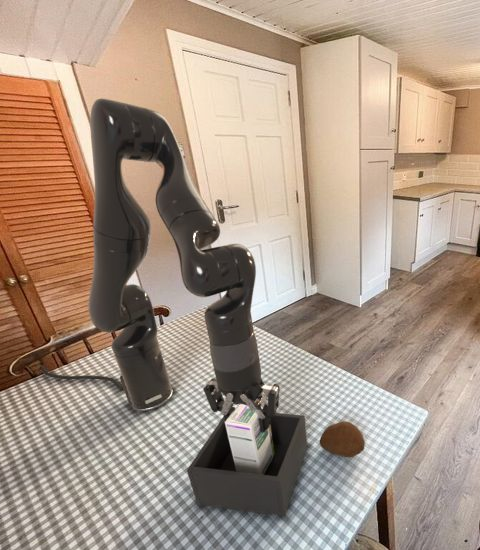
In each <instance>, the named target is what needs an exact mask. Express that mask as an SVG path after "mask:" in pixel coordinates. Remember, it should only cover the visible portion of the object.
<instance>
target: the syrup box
mask: <svg viewBox="0 0 480 550" xmlns="http://www.w3.org/2000/svg"><path fill="white" fill-rule="evenodd" d="M255 402H256V401H255ZM261 408H262V406H261ZM262 409H263V408H262ZM225 425H226V430H227V434H228V438H229V442H230V447H231V451H232V455H233V459H234V463H235V468H236V472H243V473H252V474H260V475H264V473H265V471H266V470H267V468H268V466H269V464H270V462H271V461H272V459H273V457H274V455H275V451H274V445H273V439H272V433H271V426H270V425H269V427H268V430H266V431H265V432H261V430H260V424H259V416H258V415H257V414H256V412H255V411H254V412H252V411H251V409H250V408H249V407H248V405H244V404H237V406H236V407H235V410H234V411H233V412H232V413H231V415H230V416H229V417H228V419H227V420H226V421H225Z"/></svg>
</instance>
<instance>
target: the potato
mask: <svg viewBox="0 0 480 550" xmlns="http://www.w3.org/2000/svg"><path fill="white" fill-rule="evenodd" d="M365 443H366V442H365V439H364V435H363V433H362V432H361V431H360V429H359V428H358V426H356V425H355V424H353V422H350V421H347V420H344V421H338V422H336V423H333V424H330V425H328V426H327V427H326V428H325V429H324V431H322V434H321V436H320V439H319V445H320V448H322V449H323V450H325V451H326V452H328V453H330V454H332V455H335V456H340V457H343V458H347V459H351V458H354V457H356V456H358V455H360V454H361V453H362V452H364V450H365V447H366V446H365V445H366V444H365Z"/></svg>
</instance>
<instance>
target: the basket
mask: <svg viewBox="0 0 480 550" xmlns="http://www.w3.org/2000/svg"><path fill="white" fill-rule="evenodd" d="M222 416H223V417H222V418H221V419H220V421H219V422H218V423H217V425H216V426H215V428H214V429H213V431H212V432H211V434H210V435H209V437H208V438H207V440H206V441H205V443H204V444H203V446H202V447H201V449H200V450H199V451H198V453H196V456H195V457H194V459H193V460H192V461H191V463H190V465H189V466H188V467H187V469H186V473H187V476H188V479H189V483H190V486H191V489H192V493H193V496H194V499H195V502H196V505H197V506H202V507H208V508H209V507H211V508H217V509H225V510H232V511H233V510H234V511H241V512H247V513H257V514H264V515H272V516H277V517H278V516H279V517H286V515H287V512H288V508H289V505H290V503H291V500H292V496H293V494H294V490H295V487H296V485H297V482H298V479H299V475H300V472H301V468H302V465H303V463H304V459H305V456H306V453H307V450H308V437H307V427H306V416H305V415H303V414H293V413H283V412H282V413H281V412H276V413H275V415H274V417H270V419H271V423H270V426H271V433H272V439H273V445H274V451H275V455H274V457H273V459H272V461H271V462H270V464H269V466H268V468H267V470H266V471H265V473H264V475H260V474H252V473H243V472H236V468H235V463H234V459H233V455H232V451H231V447H230V442H229V438H228V434H227V430H226V425H225V419H224V415H222Z"/></svg>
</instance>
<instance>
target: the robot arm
mask: <svg viewBox="0 0 480 550" xmlns="http://www.w3.org/2000/svg"><path fill="white" fill-rule="evenodd" d="M89 127H90V129H89V130H90V141H91V153H92V164H93V174H94V175H93V177H94V207H93V208H94V209H93V223H92V225H93V227H92V228H93V229H92V231H93V232H92V233H93V234H92V235H93V236H92V240H93V267H92V268H93V270H92V278H91V284H90V290H89V291H90V292H89V296H88V305H87V306H88V308H87V309H88V315H89V319H90V321H91V324H93V326H94V327H95V328H96V329H97V330H98V331H100V332H102V333H107V334H108V333H115V332H119V331H120V332H119V333H118V334H117V336H115V338H114V339H113V340H112V341H111V350H112V353H113V355H114V358H115V360H116V363H117V367H118V369H119V371H120V376H119V380H120V382H119V381H117V380H116V379H115V378H112V377H109V376H103V375H102V376H101V375H59V374H55V373H52V372H49V371H48V370H47V368H46V367H45V365H43V364H41V365H40V366H39V370H41V371H42V372H43V374H44V375H45V376H47V377H50V378H53V379H54V378H55V379H61V380H102V381H109V382H111V383H113V384H114V385H115V386H116V388H118V389H119V390H120V391H124V395H125V397H126V399H127V402H128V405H129V406H131V407H132V409H133V410H135V411H137V412H149V411H153V410H155V409H157V408H159V407H161V406H163V405H165V404H166V403H167V402H168V401H169V400H170V399H171V398H172V397H173V395H174V389H173V387H172V385H171V380H170V377H169V374H168V371H167V367H166V363H165V359H164V356H163V352H162V350H161V346H160V342H159V340H158V333H159V331H158V325H157V321H156V316H155V310H154V307H153V303H152V300H151V297H150V296H149V294H148V292H146V290H145V289H144V288H143V287H142V286H140V285H137V284H134V283H129V284H128V282H129V281H130V279H131V278H132V276H133V275H134V274H135V273H136V271H137V270H138V268H139V267H140V266H141V264H142V263H143V262H144V260H145V258H146V257H147V254H148V252H149V249H150V244H151V235H152V222H151V220H150V217H149V215H148V213H147V212H146V211H145V209H144V208H143V206H142V205H141V204H140V203H139V201H138V200H137V198H136V197H135V196H134V195H133V193H132V192H131V190H130V188H129V187H128V185H127V183H126V181H125V179H124V176H123V169H122V166H123V165H122V163H123V160H126V161H127V160H128V161H135V162H136V161H137V162H145V163H155V164H157V165H158V166H159V167H160V168H161V170H162V175H161V178H160V180H159V183H158V185H157V187H156V191H155V192H156V193H155V199H154V200H155V207H156V210H157V213H158V214H159V215H158V216H159V217H160V219H161V220H162V222H163V224H164V225H165V226H164V227H166V229H167V231H168V233H169V234H170V236H171V238H172V239H173V242H174V245H175V249H176V252H177V256H178V262H179V268H180V277H181V281H182V284H183V286H184V287H185V289H186V290H187V291H188V292H189V293H190V294H192V295H194V296H196V297H198V298H208V297H213V296H216V295H218V294H222V293H224V292H225V294H224V295H223V296H222V297H220V298H219V299H218V300H216V301H213V303H211V304H210V305H209V306H208V307H206V309H205V311H204V322H205V327H206V331H207V335H208V339H209V340H208V341H209V352H210V353H209V354H210V358H211V362H212V368H213V371H214V376H215V377H214V378H211V379H210V380H209V381H208V382H207V384H206V385H205V386H204V387H203V388H202V391H203V393H204V395H205V397H206V399H207V402H208V405H209V407H210V409H211V411H212V413H218V412H220V414H221V415H222V416H224V419H225V421H226V420H227V419H228V417H229V416H230V415H231V413H232V412H233V411H234V410H235V409H236V407H235V406H234V405H239V404H244V405H248V407H249V408H250V409H251V411H252V412H254V411H255V412H256V414H257V415H258V416H259V424H260V430H261V432H265V431H266V430H268V427H269V425H270V423H271V419H270V417H274V415H275V413H277V410H278V408H279V406H280V384H279V383H273V385H272V386H271V385H268V384H267V385H266V384H265V382H264V381H263V379H262V368H261V359H260V354H259V347H258V341H257V337H256V334H255V330H254V323H253V317H252V303H253V296H254V289H255V284H256V275H257V266H256V260H255V258H254V256H253V254H252V253H251V250H249V249H248V248H247V247H246V246H245V245H243V244H241V243H228V244H225V245H224V244H223V245H219V246H214V247H211V248H207V247H209V246H212V245H213V244H214V243H215V242H216V241H218V239H219V238H220V235H221V228H220V227H221V226H220V225H219V223H218V221H217V219H216V218H215V216H214V215H213V213H212V211H211V210H210V208H209V207H208V205H207V203H206V202H205V200H204V199H203V197H202V196H201V193H200V192H199V190H198V189H197V187H196V185H195V182H194V180H193V177H192V175H191V172H190V170H189V168H188V165H187V162H186V159H185V156H184V154H183V151H182V150H181V148H180V145H179V142H178V140H177V137H176V135H175V132H174V131H173V128H172V127H171V125H170V123H169V121H168V120H167V118H165V117H164V115H163V114H161V113H160V112H158V111H156V110H154V109H150V108H147V107H143V106H139V105H135V104H130V103H126V102H121V101H119V100H114V99H110V98H109V99H108V98H103V97H102V98H101V97H100V98H97V99H96V100H95V101H93V103H92V106H91V109H90V117H89ZM48 372H49V373H48ZM120 383H121V384H120ZM224 397H225V398H224ZM255 401H256V402H255ZM261 406H262V408H263V409H262V408H261Z"/></svg>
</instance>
